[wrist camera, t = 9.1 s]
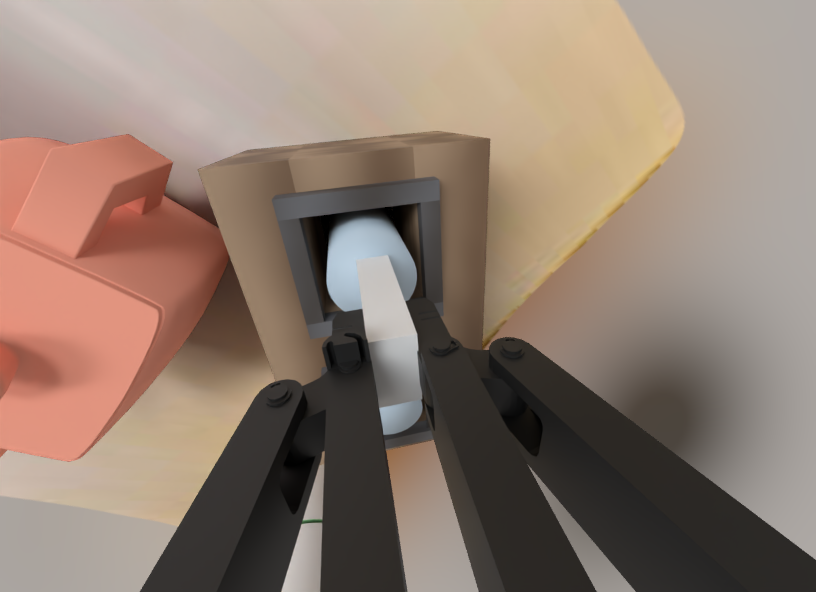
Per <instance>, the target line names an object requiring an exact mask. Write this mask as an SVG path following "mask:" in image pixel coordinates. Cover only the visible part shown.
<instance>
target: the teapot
mask: <svg viewBox="0 0 816 592" xmlns="http://www.w3.org/2000/svg"><path fill="white" fill-rule="evenodd" d="M172 164H173V162H172V161H170V160H169V159H167V158H165V157H164V156H162V155H161V154H159V153H158V152H156V151H154V150H153V149H151V148H150V147H148V146H147V145H145V144H143V143H142V142H140V141H139V140H137V139H135V138H134V137H132V136H131V135H129V134H126V135H121V136H115V137H110V138H104V139H99V140H94V141H88V142H83V143H77V144H72V145H69V144H66V143H64V142H60V141H56V140H51V139H46V138H38V137H22V138H11V139H4V140H0V457H1V456H2V455H3V454H4V453H5V452H6V451H7V450H11V451H16V452H21V453H26V454H31V455H36V456H41V457H46V458H51V459H57V460H62V461H68V462H70V461H74V460H77V459H79V458H81V457H82V456H83V455H85V454H86V453H87V452H88V451H89V450H90V449H91V448H92V447H93V446H94V445H95V444H96V443H97V442H98V441H99V440H100V439H101V438H102V437H103V436H104V435H105V434H106V433H107V432H108V431H109V430H110V429H111V428H112V427H113V425H114V424H115V423H116V422H117V421H118V420H119V419H120V418H121V417H122V416H123V415H124V414H125V413H126V412H127V411H128V410H129V409H130V408H131V406H132V405H133V404H134V403H135V402H136V401H137V400H138V399H139V397H140V396H141V395H142V394H143V393H144V392H145V391H146V390H147V388H148V387H149V386H150V385H151V384H152V382H153V381H154V380H155V379H156V378H157V376H158V375H159V374H160V373H161V371H162V370H163V369H164V368H165V367H166V365H167V364H168V363H169V362H170V360H171V359H172V358H173V357H174V355H175V354H176V353H177V352H178V350H179V349H180V348H181V346H182V345H183V344H184V342H185V341H186V339H187V338H188V337H189V335H190V334H191V332H192V331H193V329H194V328H195V326H196V325H197V323H198V322H199V320H200V318H201V317H202V315H203V313H204V312H205V310H206V308H207V306H208V304H209V302H210V300H211V298H212V296H213V294H214V292H215V290H216V288H217V286H218V284H219V281H220V279H221V277H222V275H223V273H224V270H225V268H226V265H227V263H228V260H229V257H230V256H229V253H228V251H227V248H226V245H225V243H224V240H223V237H222V234H221V232H220V229H219V228H217V227H216V226H214V225H213V224H211V223H209V222H208V221H206V220H205V219H203V218H201V217H200V216H198V215H196V214H195V213H193V212H191V211H189V210H188V209H186V208H184V207H183V206H181V205H179V204H178V203H176V202H174V201H173V200H171V199H169V198H167V197H166V196H164V192H165V188H166V185H167V181H168V178H169V175H170V171H171V168H172Z"/></svg>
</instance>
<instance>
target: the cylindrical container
mask: <svg viewBox="0 0 816 592" xmlns="http://www.w3.org/2000/svg"><path fill="white" fill-rule="evenodd" d="M323 486H324V465H319V468H318V471H317V475H316V478H315V481H314V485H313V488H312V491H311V495H310V498H309V501H308V505H307V508H306V511H305V515H304V518H303V521H302V525H301V528H300V531H299V535H298V538H297V541H296V545H295V548H294V551H293V554H292V558H291V561H290V564H289V568H288V571H287V574H286V578H285V581H284V584H283V588H282V591H281V592H320V578H321V547H322V517H323Z"/></svg>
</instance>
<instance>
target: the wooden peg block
mask: <svg viewBox="0 0 816 592" xmlns="http://www.w3.org/2000/svg"><path fill="white" fill-rule="evenodd" d="M489 157H490V139H489V138H482V137H475V136H468V135H462V134H455V133H448V132H441V131H433V132H423V133H413V134H403V135H393V136H383V137H373V138H363V139H353V140H343V141H333V142H323V143H313V144H303V145H293V146H283V147H274V148H264V149H254V150H247V151H244V152H242V153H239V154H236V155H234V156H231V157H229V158H226V159H224V160H221V161H218V162H216V163H213V164H211V165H208V166H206V167H203V168H200V169H198V172H199V175H200V178H201V180H202V183H203V186H204V188H205V191H206V194H207V197H208V199H209V202H210V205H211V207H212V210H213V213H214V215H215V218H216V221H217V224H218V226H219V229H220V232H221V234H222V237H223V240H224V243H225V245H226V248H227V251H228V253H229V256H230V259H231V262H232V264H233V267H234V270H235V272H236V275H237V278H238V280H239V283H240V286H241V289H242V291H243V294H244V297H245V299H246V302H247V305H248V308H249V310H250V313H251V316H252V318H253V321H254V324H255V326H256V329H257V332H258V335H259V337H260V340H261V343H262V345H263V348H264V351H265V354H266V356H267V359H268V362H269V364H270V367H271V370H272V372H273V375H274V378H275V381H279V380H285V379H290V380H296V381H297V382H299V383H301V385H302V386H303V385H306V384H308V383H310V382H313V381H315V380H316V379H318V378H320V377H321V376H323V375H324V374H325V373H326V372H327V367H326V363H325V359H324V355H323V351H322V345H323V343H324V341H325V340H326V339H327V338H328V337H330V336H332V321H333V319H334V318H335V316H336V315H337V313H340V312H345V311H343V310H342V309H341V308H339V307H338V306H337V305H336V303H335V302H334V301H333V299H332V298H331V296H330V294H329V291H328V288H327V260H328V251H327V247H326V242H325V237H324V232H323V228H322V223H321V218H320V215H328V214H336V213H343V212H351V211H359V210H367V209H375V208H382V207H390V206H393V210H394V220H395V227H396V229H397V231H398V233H399V235H400V237H401V238H402V240H403V242H404V244H405V246H406V248H407V250H408V251H409V253H410V255H411V257H412V259H413V261H414V263H415V266H416V271H417V281H416V286H415V289H414V292H413V294H412V296H411V297H410V299H409V300H413V299H419V298H427V299H428V300H430V301H431V302H433V303H434V305H435V307H436V309H437V311H438V312H439V314H440V317H441V318H442V320H443V322H444V324H445V326H446V328H447V330H448V332H449V334H450V336H451V337H453V338H455V339H457V340H458V341H459V342H460V343H461V344H462V345H463V347H465V348H468V349H475V350H482V338H483V312H484V286H485V260H486V234H487V209H488V183H489ZM421 402H422V413H421V415H420V417H419V419H418V420H417V421H416V422H415V423H414V424H413V425H412V426H411V427H409V428H408V429H406V430H404V431H402V432H399V433H395V434H389V435H384V440H385V447H386V450H390V449H395V448H400V447H404V446H408V445H413V444H417V443H422V442H426V441H431V440H434V438H433V435H432V432H431V428H430V427H428V428H427V424H426V411H425V399H424V396H423V393H422V399H421ZM324 456H325V451H323V452H322V458H321V461H320V465H324Z"/></svg>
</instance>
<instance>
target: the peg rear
mask: <svg viewBox="0 0 816 592" xmlns="http://www.w3.org/2000/svg"><path fill="white" fill-rule="evenodd" d="M379 409H380V415H381V421H382V427H383V434H384V435H389V434H395V433H399V432H402V431H404V430H406V429H408V428H409V427H411V426H412V425H413V424H414V423H415V422H416V421H417V420H418V419H419V417H420V415H421V413H422V402H421V400H417V401H412V402H407V403H402V404H397V405H392V406H387V407H382V408H379Z"/></svg>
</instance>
